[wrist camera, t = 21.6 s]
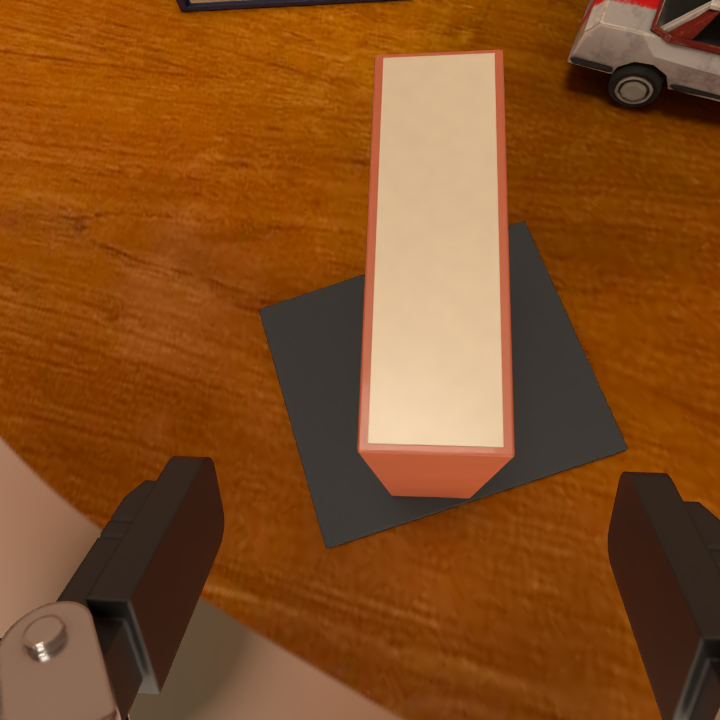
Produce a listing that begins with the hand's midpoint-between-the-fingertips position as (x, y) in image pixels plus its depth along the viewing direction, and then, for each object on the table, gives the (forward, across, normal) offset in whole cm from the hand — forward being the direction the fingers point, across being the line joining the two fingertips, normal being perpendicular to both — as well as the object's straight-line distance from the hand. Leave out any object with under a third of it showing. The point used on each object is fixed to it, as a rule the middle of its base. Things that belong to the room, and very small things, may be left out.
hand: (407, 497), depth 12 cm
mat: (+16, -1, +6) cm, 17 cm away
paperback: (+15, -1, +6) cm, 17 cm away
